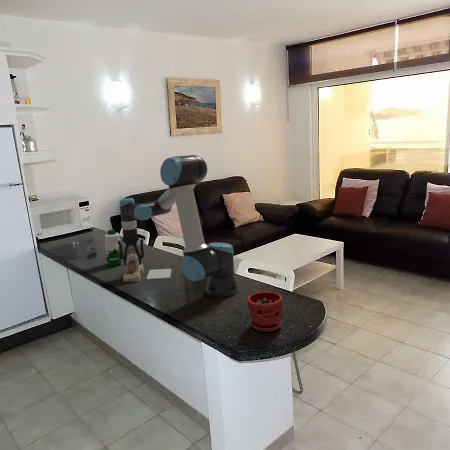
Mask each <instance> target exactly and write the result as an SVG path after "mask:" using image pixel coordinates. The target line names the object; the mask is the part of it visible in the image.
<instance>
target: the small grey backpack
mask: <svg viewBox="0 0 450 450" xmlns="http://www.w3.org/2000/svg"><path fill="white" fill-rule="evenodd" d="M136 244H137V247H138V250H139V252H140V255H141V247H140V242H139V241H138V242H137V243H136ZM125 248H126V244H125V243H124V242H123V243H122V249H123V256H124V254H125ZM134 253H135V254H136V251H135V248H134V246H129V248H128V253H127V256H128V255H130V254H134Z"/></svg>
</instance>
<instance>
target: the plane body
mask: <svg viewBox="0 0 450 450" xmlns="http://www.w3.org/2000/svg"><path fill="white" fill-rule="evenodd" d="M127 267H128V271H127V270H126V271H124V272H123V273H122V279H123V283H131V282H133V283H136V282H140V281H141V279H142V277H141V274H143V273H144V263H141V265H140V271H138V270H135V267H134V263H128V264H127V266H126V268H127Z"/></svg>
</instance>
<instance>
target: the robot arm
mask: <svg viewBox="0 0 450 450" xmlns="http://www.w3.org/2000/svg"><path fill="white" fill-rule="evenodd" d="M159 171H160V173H159V174H160V179H161V182H162V183H163V184H164V185H166V186H168V188H167V189H166V190H165V191H164V193H162V194H161V196H159V198H157V200H155V201H148V202H143V203H135V199H134V198H132V197H131V198H129V197H128V198H126V197H125V198H122V199H120V200H119V210H120V219H121V221H120V222H121V228H122V231H121V232H122V238H121V239H120V240H118V245H119V252H120V259H121V260H123V264H124V266H125V267H126V272H127V271H128V268H127V253H128V248H129V246H134V248H135V251H136V254H137V256H138V258H137V265H138V271H140V265H141V264H143V263H142V259H144V258H145V246H144V242H145V239H144V238H140V237H139V236H138V228H137V225H138V224H137V223H138V222H137V220H139V221H147V220H149V219H150V218H151V217H157V216H163V215H166V214H169V213H170V212H171V211H172V209H173V206H174V205H175V204H176V210H177V214H178V219H179V223H180V228H181V234H182V237H183V242H184V246H185V247H184V249H183V251H182V253H183V256H182V258H181V259H180V262H179V263H180V264H179V266H180V270H181V272H182V274H183V276H184V277H186V278H187V279H188V280H190V281H193V282H196V281H197V282H198V281H201V280H203V279H206V278H207V277H208V280H207V283H206V287H205V288H206V289H205V290H206V292H205V293H206V294H207V295H208V296H211V297H215V298H228V297H232V296H234V295H236V294H237V293H239V283H238V282H237V279H236V276H235V260H234V259H235V258H234V253H235V252H234V247H233V245H232V244H230V243H226V242H210V243H208V244H207V243H205V238H204V234H203V229H202V224H201V219H200V216H199V211H198V204H197V202H196V197H195V192H194V189H195V187H196V186H198V185H199V184H200V183H201V182H202V181H204V179H205V178H206V177H207V173H208V165H207V162H206V161H205V159H204V158H203V157H201V156H199V155H196V154H195V155H194V154H191V155H175V156H172V157H167V158H165V159H164V161H163V162H162V164H161V165H160V170H159ZM123 242H124V243H125V244H126V248H125V254H124V256H123V249H122V243H123ZM137 242H139V243H140V247H141V254H140V252H139V250H138V247H137V244H136V243H137Z"/></svg>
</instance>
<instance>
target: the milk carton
mask: <svg viewBox="0 0 450 450" xmlns="http://www.w3.org/2000/svg"><path fill="white" fill-rule="evenodd" d="M103 239H104V248H105V257H106V262H107V266H108V267H110V268H111V267H117V266H118V267H119V266H122V259H120V252H119V245H118V240H121V237H120V233H119V232H116V230H115V229H109V230H107V233H104V238H103Z"/></svg>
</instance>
